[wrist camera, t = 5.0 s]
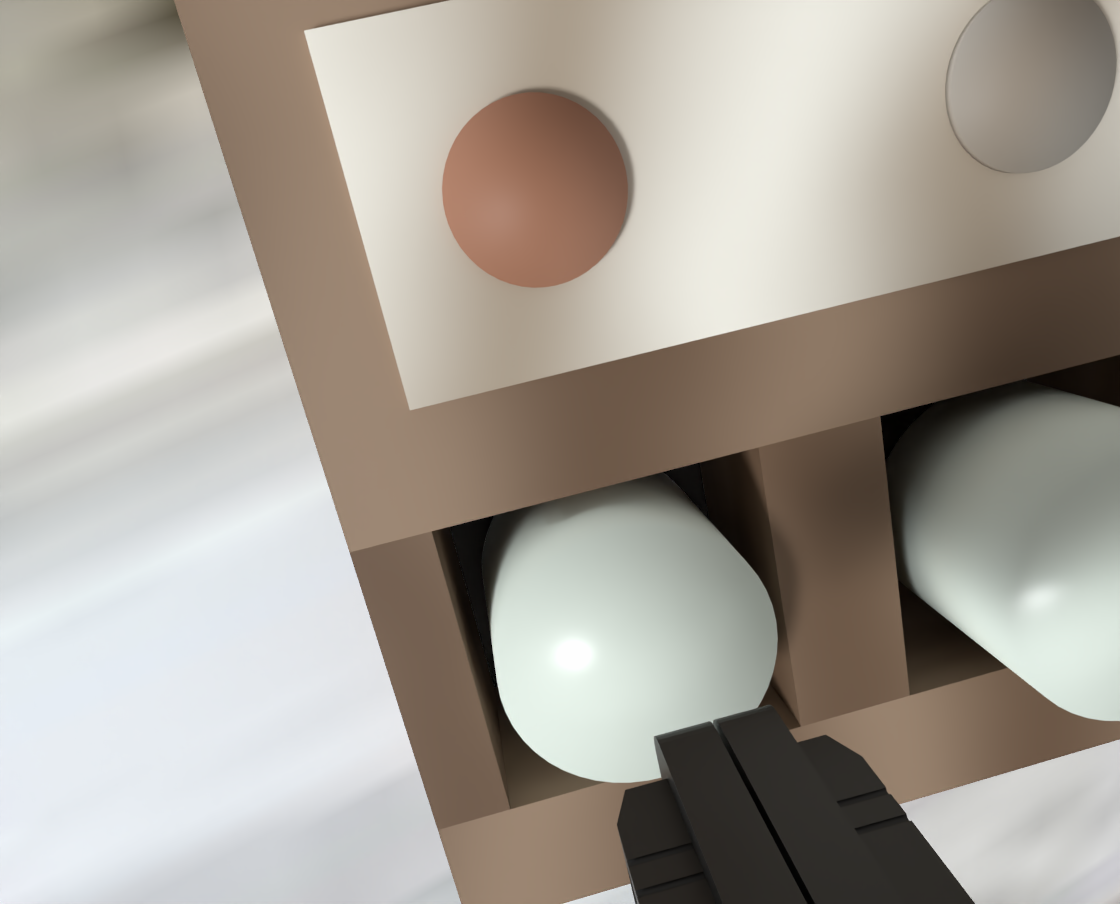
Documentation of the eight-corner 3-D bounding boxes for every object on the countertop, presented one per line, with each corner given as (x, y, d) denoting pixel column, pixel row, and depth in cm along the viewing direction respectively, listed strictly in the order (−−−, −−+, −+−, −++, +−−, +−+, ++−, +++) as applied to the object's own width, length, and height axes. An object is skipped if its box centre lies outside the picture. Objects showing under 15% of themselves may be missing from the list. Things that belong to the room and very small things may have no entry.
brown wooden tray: (1425, -218, 16) (1763, -364, 12) (1366, 534, 21) (1596, 613, 17) (233, 29, 15) (153, -44, 10) (462, 788, 19) (470, 946, 15)
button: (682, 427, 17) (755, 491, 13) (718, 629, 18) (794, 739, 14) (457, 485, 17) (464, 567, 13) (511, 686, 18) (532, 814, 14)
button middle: (1093, 353, 16) (1303, 397, 12) (1099, 572, 17) (1289, 676, 13) (861, 413, 15) (1001, 478, 12) (886, 632, 17) (1020, 755, 13)
